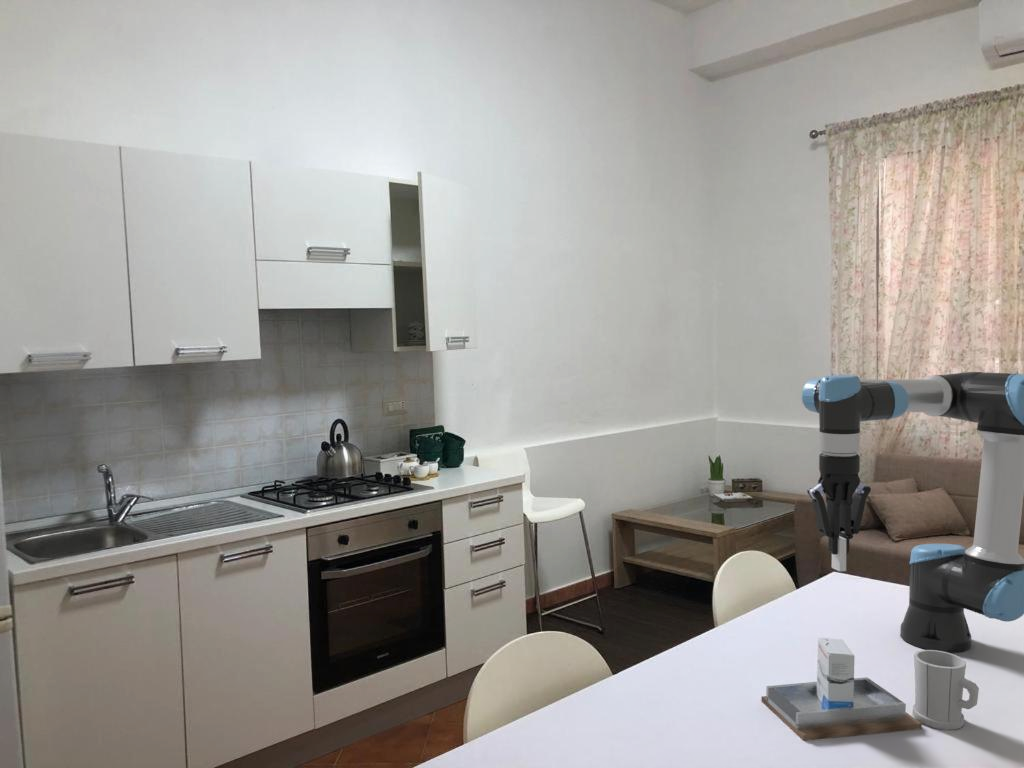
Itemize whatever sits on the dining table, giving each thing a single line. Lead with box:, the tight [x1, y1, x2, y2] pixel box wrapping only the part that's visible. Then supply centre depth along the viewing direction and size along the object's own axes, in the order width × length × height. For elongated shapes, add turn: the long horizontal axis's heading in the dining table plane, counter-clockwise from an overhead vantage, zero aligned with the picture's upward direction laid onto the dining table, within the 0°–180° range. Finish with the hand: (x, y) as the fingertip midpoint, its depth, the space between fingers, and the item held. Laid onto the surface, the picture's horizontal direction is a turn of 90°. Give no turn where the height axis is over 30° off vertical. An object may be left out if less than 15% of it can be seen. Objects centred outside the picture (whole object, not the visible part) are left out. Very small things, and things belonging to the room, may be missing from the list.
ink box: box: [816, 637, 855, 709], centre depth 158 cm, size 8×5×12 cm, turn 173°
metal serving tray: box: [765, 676, 907, 730], centre depth 159 cm, size 22×12×3 cm, turn 100°
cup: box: [912, 649, 980, 731], centre depth 156 cm, size 10×9×12 cm
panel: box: [760, 695, 923, 742], centre depth 159 cm, size 24×16×1 cm, turn 100°
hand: (838, 569), depth 165 cm, fingers closed
